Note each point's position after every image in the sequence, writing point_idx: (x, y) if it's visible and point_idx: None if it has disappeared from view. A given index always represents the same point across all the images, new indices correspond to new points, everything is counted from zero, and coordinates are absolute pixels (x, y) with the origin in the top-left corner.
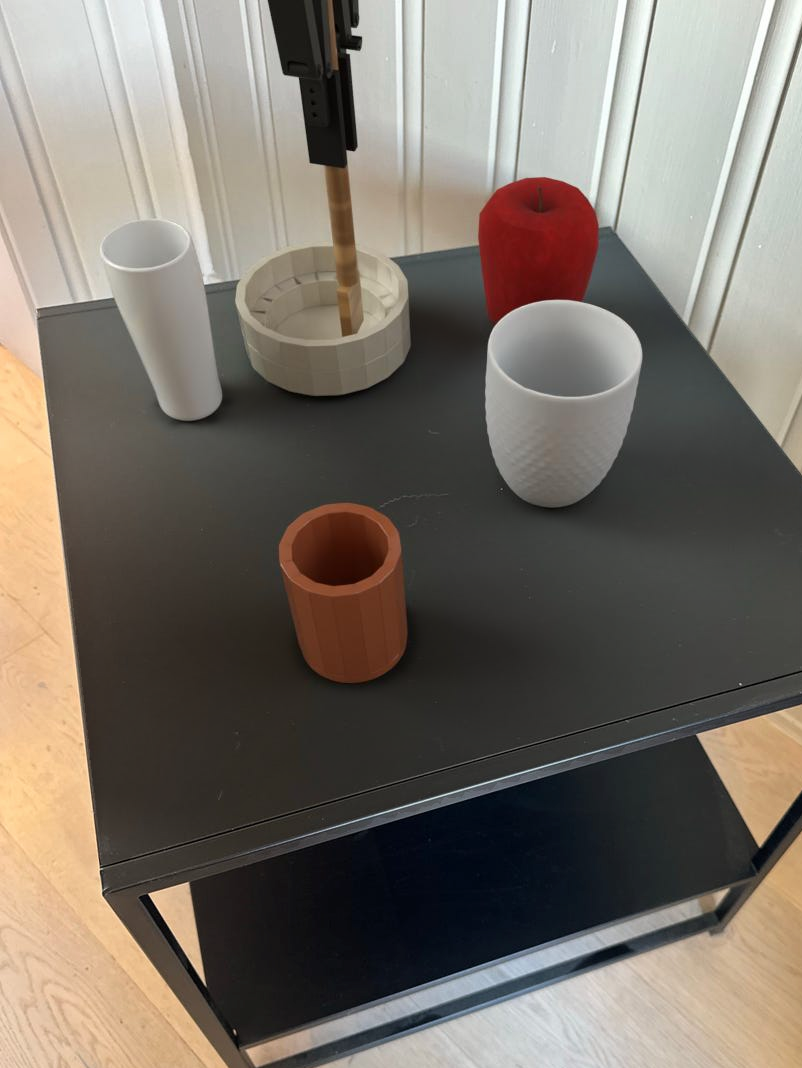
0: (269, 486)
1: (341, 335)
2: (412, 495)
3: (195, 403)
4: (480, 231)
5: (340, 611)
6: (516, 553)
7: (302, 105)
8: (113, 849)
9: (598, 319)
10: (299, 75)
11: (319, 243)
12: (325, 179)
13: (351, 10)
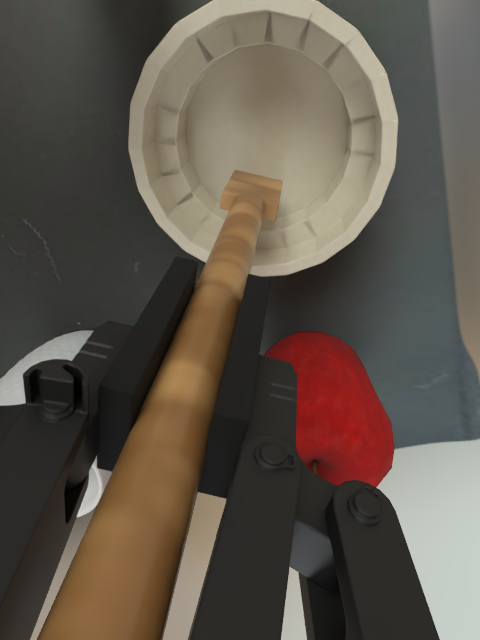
0: (11, 90)
1: (278, 155)
2: (48, 249)
3: None
4: (306, 392)
5: None
6: (13, 330)
7: (137, 324)
8: None
9: (94, 494)
10: None
11: (389, 136)
12: (219, 258)
13: (303, 599)
